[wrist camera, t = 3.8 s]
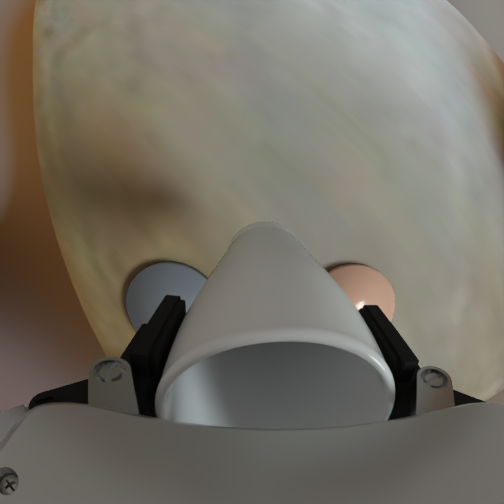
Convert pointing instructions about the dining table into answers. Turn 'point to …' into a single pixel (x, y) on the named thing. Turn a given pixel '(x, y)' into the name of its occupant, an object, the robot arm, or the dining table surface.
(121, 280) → the dining table surface
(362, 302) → the pink dome
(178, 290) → the dish slate
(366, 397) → the drinking glass
